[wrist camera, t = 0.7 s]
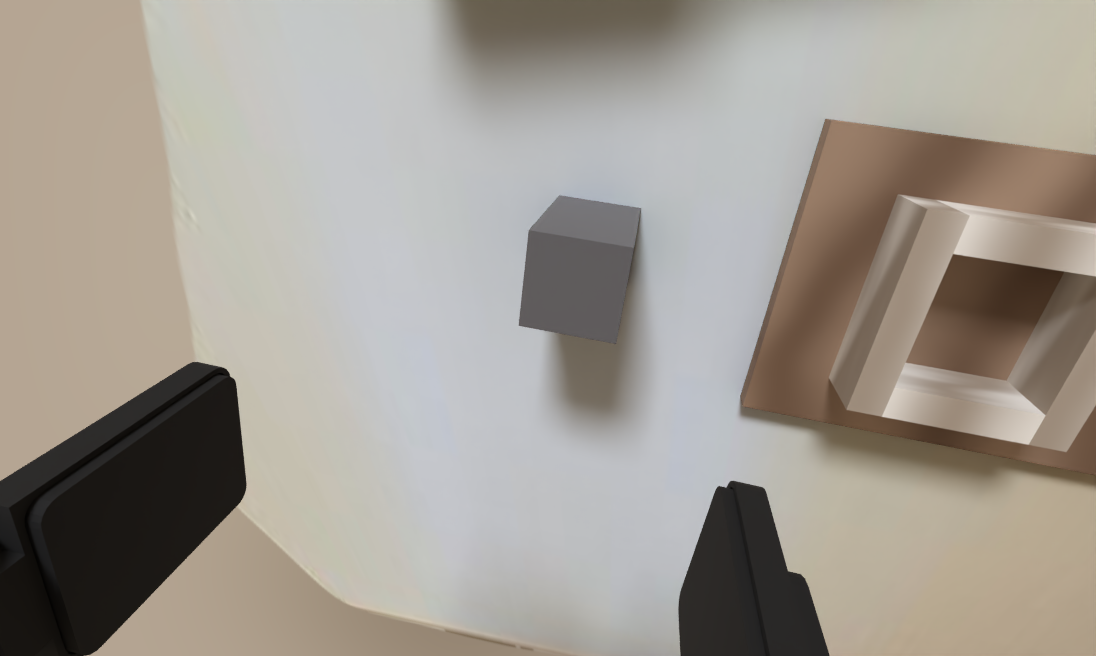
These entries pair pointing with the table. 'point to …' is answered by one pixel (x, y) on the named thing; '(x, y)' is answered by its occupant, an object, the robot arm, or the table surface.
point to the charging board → (939, 296)
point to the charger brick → (579, 268)
